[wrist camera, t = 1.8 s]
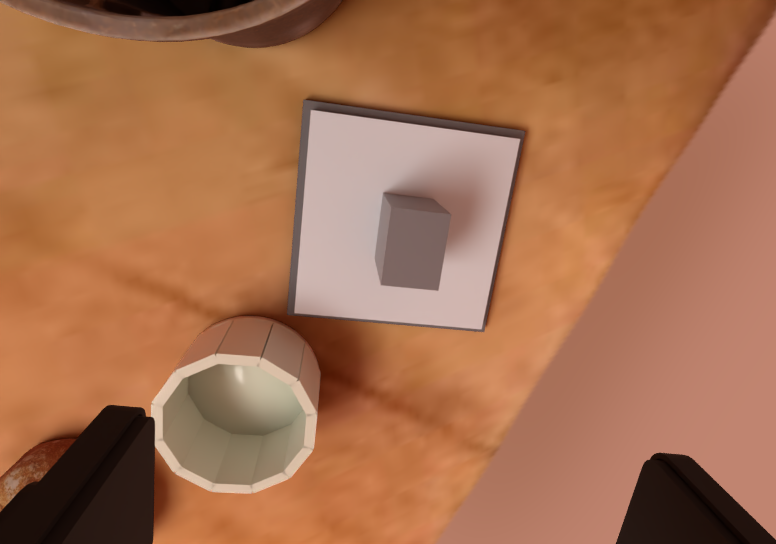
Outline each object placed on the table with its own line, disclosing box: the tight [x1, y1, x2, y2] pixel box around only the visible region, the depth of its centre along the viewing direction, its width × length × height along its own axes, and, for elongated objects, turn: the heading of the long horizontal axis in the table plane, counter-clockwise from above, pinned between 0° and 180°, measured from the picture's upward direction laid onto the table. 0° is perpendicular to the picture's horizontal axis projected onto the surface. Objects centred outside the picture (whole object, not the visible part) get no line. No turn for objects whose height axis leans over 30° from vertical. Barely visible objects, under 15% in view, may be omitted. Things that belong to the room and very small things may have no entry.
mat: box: [287, 100, 525, 332], centre depth 30 cm, size 13×13×1 cm
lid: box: [294, 110, 520, 329], centre depth 27 cm, size 12×12×6 cm
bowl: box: [151, 316, 321, 494], centre depth 30 cm, size 9×9×6 cm
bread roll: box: [0, 438, 76, 512], centre depth 32 cm, size 10×10×8 cm
